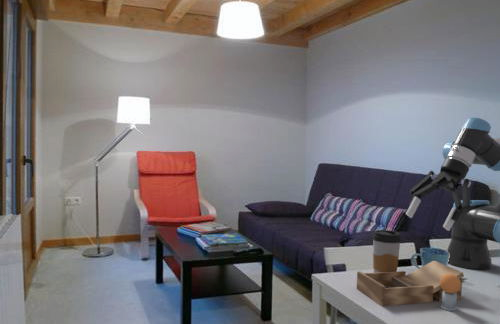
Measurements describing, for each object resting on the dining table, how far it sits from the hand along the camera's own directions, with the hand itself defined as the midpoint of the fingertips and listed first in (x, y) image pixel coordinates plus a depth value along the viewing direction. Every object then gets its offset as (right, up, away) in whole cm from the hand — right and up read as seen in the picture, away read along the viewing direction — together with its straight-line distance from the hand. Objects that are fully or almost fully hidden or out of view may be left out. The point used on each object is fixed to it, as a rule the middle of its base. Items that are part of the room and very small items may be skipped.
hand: (426, 222), depth 133 cm
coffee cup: (-13, -18, 0) cm, 22 cm away
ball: (-2, -13, -21) cm, 25 cm away
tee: (-2, -19, -20) cm, 28 cm away
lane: (-9, -19, -11) cm, 23 cm away
